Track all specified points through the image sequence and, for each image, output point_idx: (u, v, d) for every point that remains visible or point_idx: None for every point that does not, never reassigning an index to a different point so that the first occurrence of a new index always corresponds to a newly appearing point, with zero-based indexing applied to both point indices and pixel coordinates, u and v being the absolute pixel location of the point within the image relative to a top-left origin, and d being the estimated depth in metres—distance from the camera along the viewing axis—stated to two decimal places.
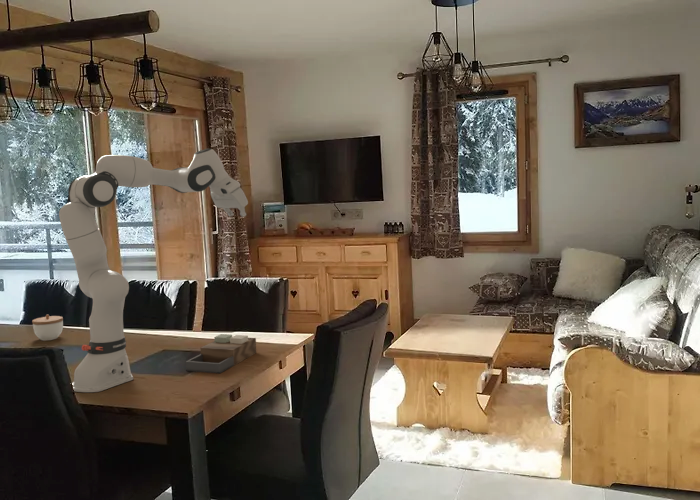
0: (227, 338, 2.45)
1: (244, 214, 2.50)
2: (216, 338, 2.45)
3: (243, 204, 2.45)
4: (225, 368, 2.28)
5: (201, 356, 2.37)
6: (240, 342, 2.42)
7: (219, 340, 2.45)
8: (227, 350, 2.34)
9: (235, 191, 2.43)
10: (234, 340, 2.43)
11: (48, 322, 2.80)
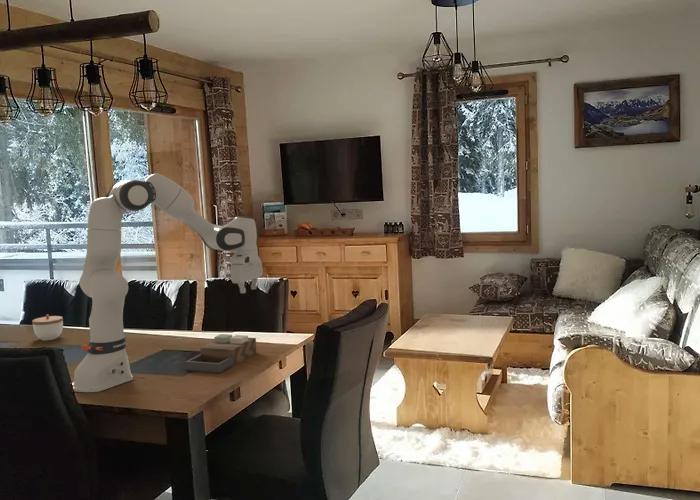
0: (227, 338, 2.45)
1: (242, 291, 2.47)
2: (216, 338, 2.45)
3: (233, 280, 2.42)
4: (225, 368, 2.28)
5: (201, 356, 2.37)
6: (240, 342, 2.42)
7: (219, 340, 2.45)
8: (227, 350, 2.34)
9: (235, 265, 2.43)
10: (234, 340, 2.43)
11: (48, 322, 2.80)
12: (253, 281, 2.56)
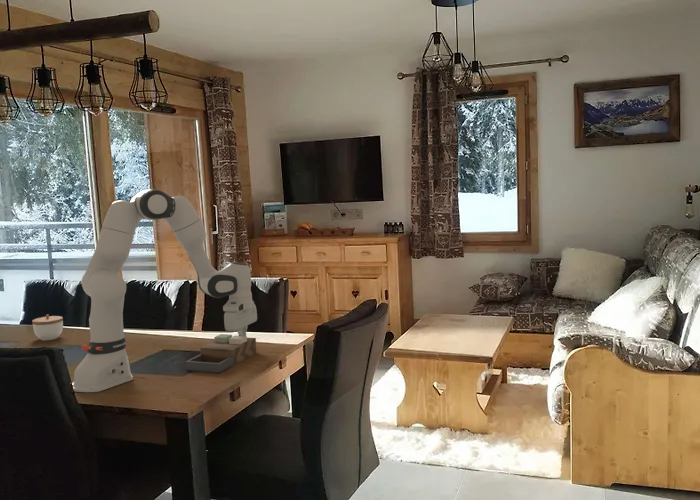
0: (227, 338, 2.45)
1: None
2: (216, 338, 2.45)
3: (227, 329, 2.38)
4: (225, 368, 2.28)
5: (201, 356, 2.37)
6: (239, 343, 2.41)
7: (219, 340, 2.45)
8: (227, 350, 2.34)
9: (229, 313, 2.39)
10: (233, 341, 2.42)
11: (48, 322, 2.80)
12: (243, 329, 2.49)
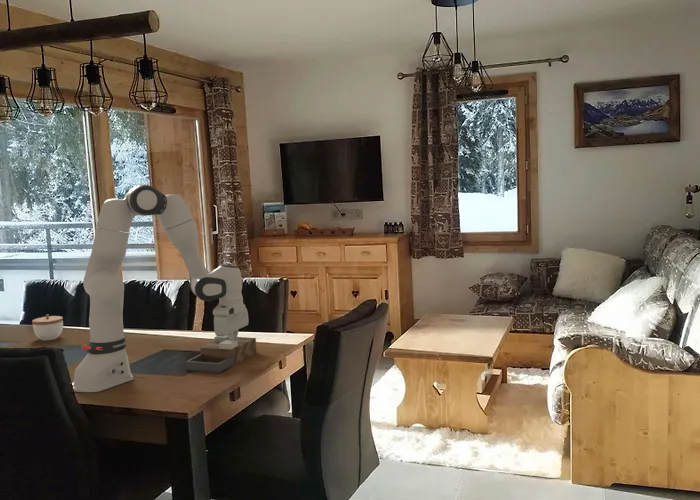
0: (227, 338, 2.45)
1: None
2: (216, 338, 2.45)
3: (217, 333, 2.31)
4: (225, 368, 2.28)
5: (201, 356, 2.37)
6: (229, 348, 2.34)
7: (219, 340, 2.45)
8: (227, 350, 2.34)
9: (219, 317, 2.32)
10: (223, 346, 2.35)
11: (48, 322, 2.80)
12: (234, 333, 2.42)
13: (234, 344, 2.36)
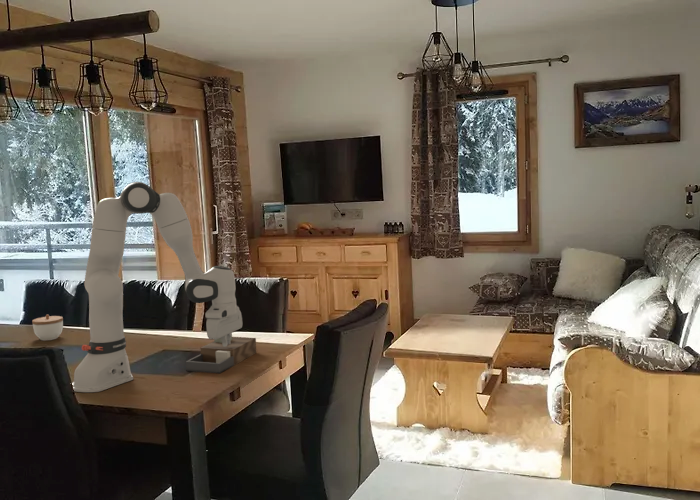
0: None
1: (224, 344, 2.35)
2: None
3: (209, 336, 2.26)
4: (225, 368, 2.28)
5: (201, 356, 2.37)
6: None
7: (219, 340, 2.45)
8: (227, 350, 2.34)
9: (211, 320, 2.27)
10: None
11: (48, 322, 2.80)
12: (227, 336, 2.37)
13: None
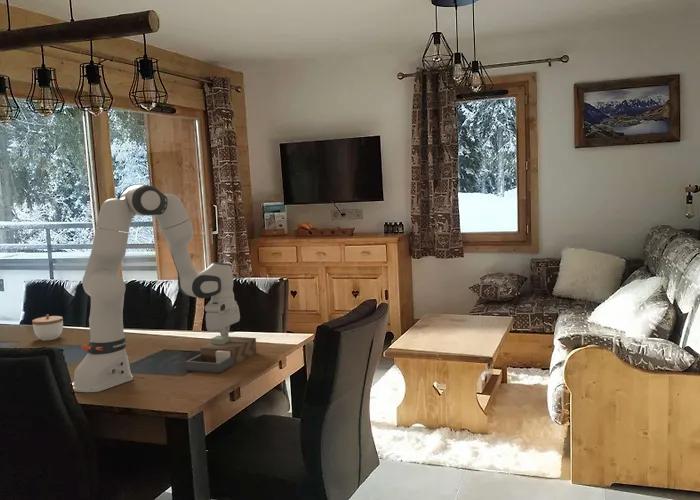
0: (224, 340, 2.43)
1: None
2: (213, 340, 2.43)
3: (208, 329, 2.39)
4: (225, 368, 2.28)
5: (201, 356, 2.37)
6: None
7: (216, 342, 2.42)
8: (227, 350, 2.34)
9: (210, 313, 2.39)
10: None
11: (48, 322, 2.80)
12: (225, 329, 2.50)
13: None
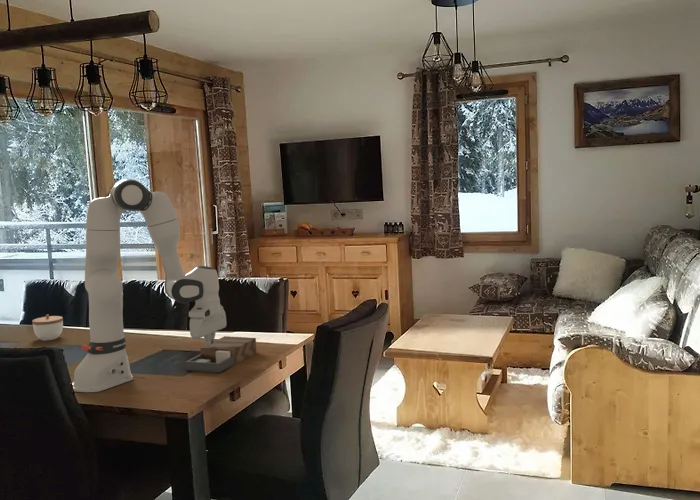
0: None
1: (208, 343, 2.37)
2: None
3: (192, 335, 2.28)
4: (225, 368, 2.28)
5: (201, 356, 2.37)
6: None
7: None
8: (227, 350, 2.34)
9: (194, 319, 2.29)
10: None
11: (48, 322, 2.80)
12: (211, 335, 2.39)
13: None
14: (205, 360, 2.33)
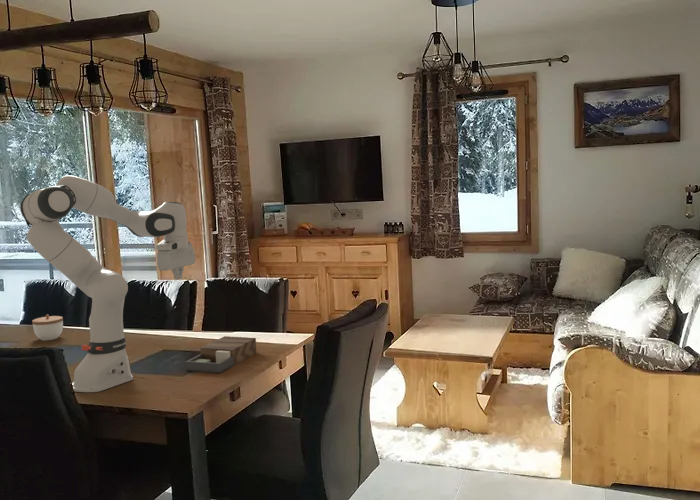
0: None
1: (176, 277, 2.43)
2: None
3: (160, 267, 2.35)
4: (225, 368, 2.28)
5: (201, 356, 2.37)
6: None
7: None
8: (227, 350, 2.34)
9: (162, 252, 2.36)
10: None
11: (48, 322, 2.80)
12: (179, 270, 2.46)
13: None
14: (205, 360, 2.33)
